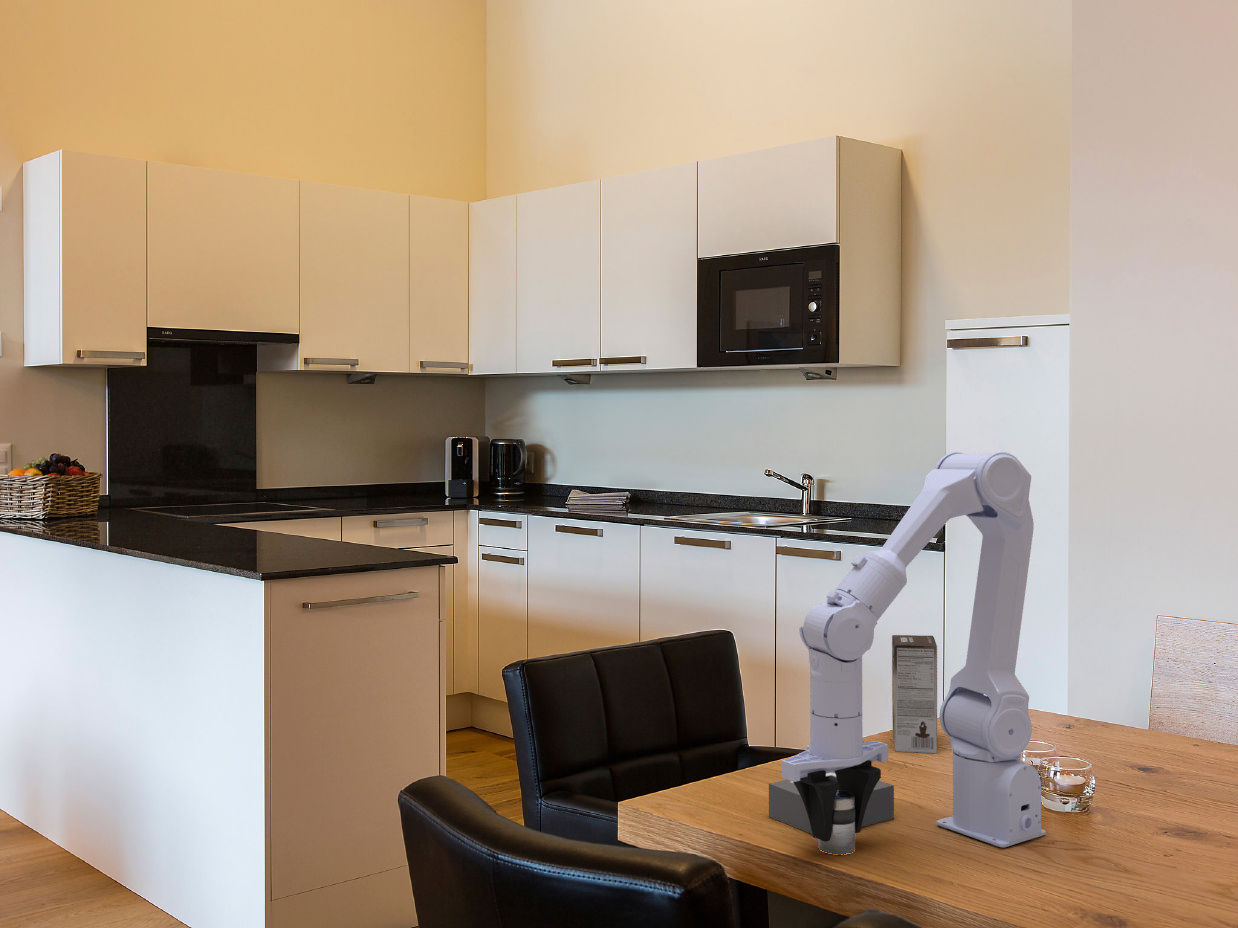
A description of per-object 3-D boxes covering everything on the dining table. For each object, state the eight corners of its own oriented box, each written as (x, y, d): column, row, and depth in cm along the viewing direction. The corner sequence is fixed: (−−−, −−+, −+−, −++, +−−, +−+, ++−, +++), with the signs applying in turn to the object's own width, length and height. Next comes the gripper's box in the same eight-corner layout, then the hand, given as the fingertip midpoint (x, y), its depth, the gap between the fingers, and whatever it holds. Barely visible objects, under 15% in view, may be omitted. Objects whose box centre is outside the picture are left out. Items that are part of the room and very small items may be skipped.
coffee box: (891, 736, 169) (890, 633, 169) (933, 738, 167) (933, 634, 167) (894, 752, 160) (893, 643, 160) (939, 754, 158) (938, 644, 158)
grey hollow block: (894, 818, 130) (893, 784, 130) (821, 837, 124) (820, 802, 124) (840, 798, 138) (840, 767, 138) (768, 816, 131) (768, 782, 131)
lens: (863, 850, 120) (863, 796, 120) (836, 858, 117) (836, 802, 117) (836, 839, 123) (836, 786, 123) (810, 847, 121) (810, 793, 121)
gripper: (856, 697, 127) (856, 812, 127) (762, 713, 119) (763, 836, 120) (902, 709, 122) (902, 829, 122) (806, 727, 114) (807, 855, 114)
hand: (836, 834), depth 120 cm, fingers closed on lens, 4 cm apart
